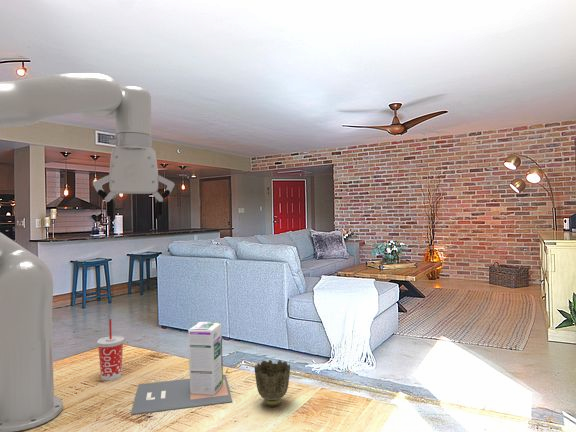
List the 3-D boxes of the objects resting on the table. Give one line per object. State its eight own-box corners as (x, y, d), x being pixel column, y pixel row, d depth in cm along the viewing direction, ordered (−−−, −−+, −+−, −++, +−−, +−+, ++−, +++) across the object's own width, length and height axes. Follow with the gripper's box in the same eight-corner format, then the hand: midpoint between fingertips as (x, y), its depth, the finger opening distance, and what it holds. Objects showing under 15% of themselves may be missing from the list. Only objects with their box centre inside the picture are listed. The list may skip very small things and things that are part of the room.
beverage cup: (92, 381, 97) (90, 322, 96) (106, 370, 103) (105, 315, 102) (116, 382, 96) (115, 323, 96) (129, 371, 102) (128, 316, 102)
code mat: (130, 414, 81) (130, 413, 81) (138, 385, 94) (138, 384, 94) (232, 402, 86) (232, 401, 86) (225, 375, 99) (225, 374, 99)
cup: (250, 411, 82) (250, 372, 81) (258, 394, 89) (258, 358, 89) (287, 414, 80) (287, 374, 80) (292, 396, 88) (292, 360, 88)
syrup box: (214, 396, 88) (213, 329, 87) (188, 394, 89) (187, 328, 88) (223, 384, 93) (222, 321, 93) (199, 383, 94) (198, 320, 94)
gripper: (88, 139, 86) (90, 220, 87) (173, 142, 90) (174, 219, 91) (96, 145, 93) (97, 219, 94) (174, 147, 98) (175, 218, 98)
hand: (135, 219), depth 92 cm, fingers open, 9 cm apart
